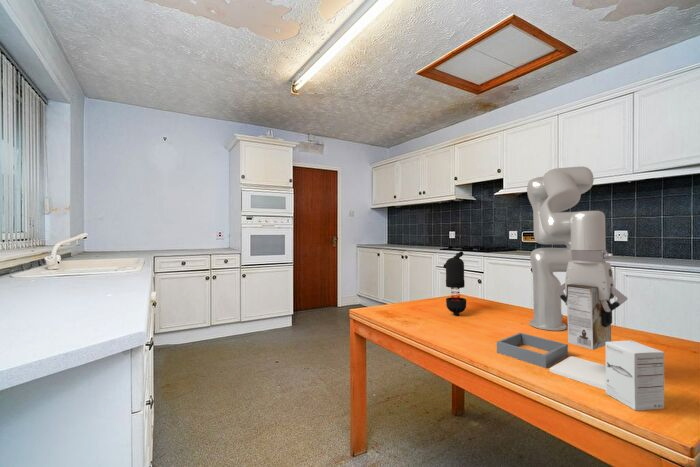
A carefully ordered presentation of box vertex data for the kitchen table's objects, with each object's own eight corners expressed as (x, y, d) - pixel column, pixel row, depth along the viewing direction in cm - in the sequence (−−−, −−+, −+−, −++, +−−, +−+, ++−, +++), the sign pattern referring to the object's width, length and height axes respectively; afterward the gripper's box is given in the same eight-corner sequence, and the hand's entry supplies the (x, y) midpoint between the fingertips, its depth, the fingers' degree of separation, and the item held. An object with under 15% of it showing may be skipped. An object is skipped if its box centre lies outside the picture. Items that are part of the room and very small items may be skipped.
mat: (571, 359, 95) (571, 355, 95) (631, 376, 83) (631, 372, 83) (549, 371, 87) (549, 368, 87) (613, 392, 75) (613, 388, 75)
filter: (472, 317, 142) (471, 251, 142) (455, 319, 139) (454, 251, 139) (453, 310, 155) (452, 249, 155) (437, 312, 152) (436, 250, 152)
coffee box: (585, 337, 90) (584, 281, 90) (612, 344, 84) (611, 284, 84) (566, 343, 86) (565, 284, 86) (593, 350, 80) (592, 287, 80)
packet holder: (520, 342, 110) (520, 332, 110) (567, 355, 98) (567, 344, 98) (496, 352, 101) (496, 341, 101) (545, 368, 89) (545, 355, 89)
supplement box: (604, 394, 75) (603, 341, 75) (632, 392, 76) (632, 339, 76) (634, 411, 68) (634, 353, 68) (666, 409, 68) (665, 351, 68)
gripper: (634, 257, 80) (635, 327, 80) (558, 254, 94) (559, 314, 94) (624, 259, 76) (626, 333, 76) (546, 256, 90) (547, 318, 90)
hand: (589, 322), depth 85 cm, fingers closed on coffee box, 6 cm apart
